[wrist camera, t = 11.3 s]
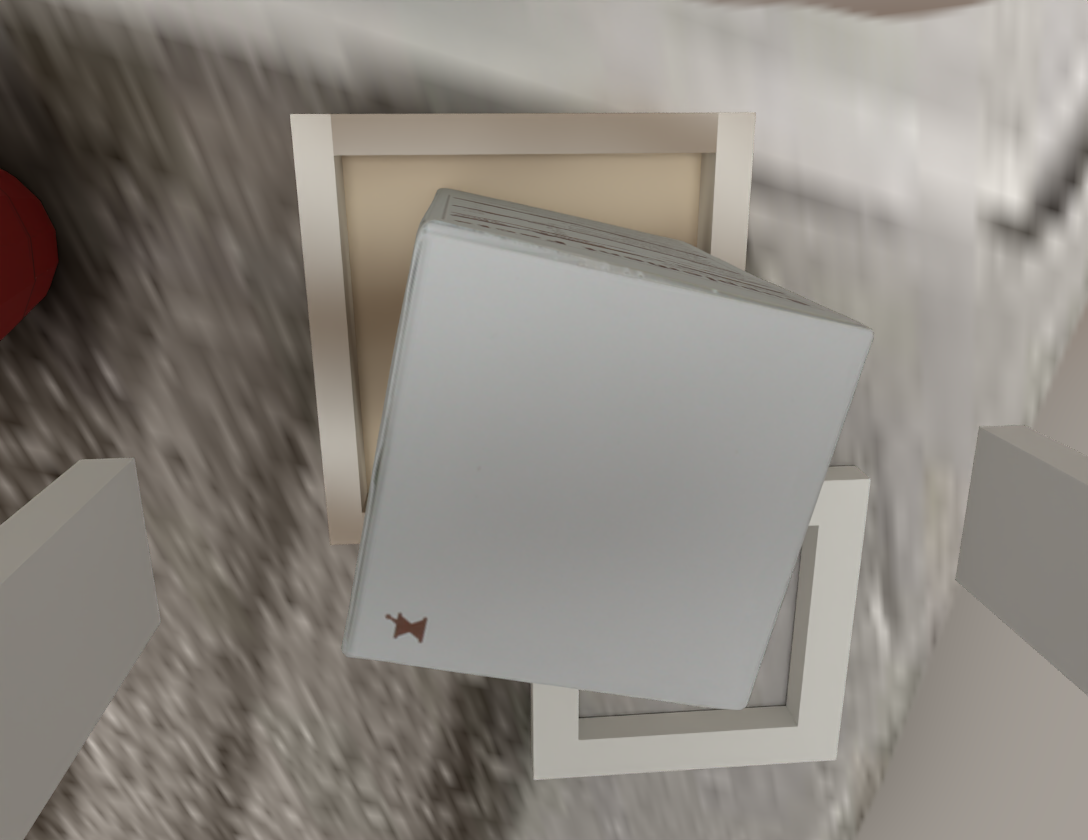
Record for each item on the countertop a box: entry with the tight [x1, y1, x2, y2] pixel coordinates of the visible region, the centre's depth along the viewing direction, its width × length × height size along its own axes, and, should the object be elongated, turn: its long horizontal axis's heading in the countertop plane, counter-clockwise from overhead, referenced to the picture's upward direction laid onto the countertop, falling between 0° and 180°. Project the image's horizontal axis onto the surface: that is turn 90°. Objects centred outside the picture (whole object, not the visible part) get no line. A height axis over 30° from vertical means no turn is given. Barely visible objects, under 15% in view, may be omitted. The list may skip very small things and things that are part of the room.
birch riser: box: [290, 113, 756, 545], centre depth 28 cm, size 12×12×10 cm
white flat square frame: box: [530, 466, 871, 780], centre depth 38 cm, size 14×14×2 cm
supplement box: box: [341, 188, 874, 710], centre depth 19 cm, size 7×7×13 cm
